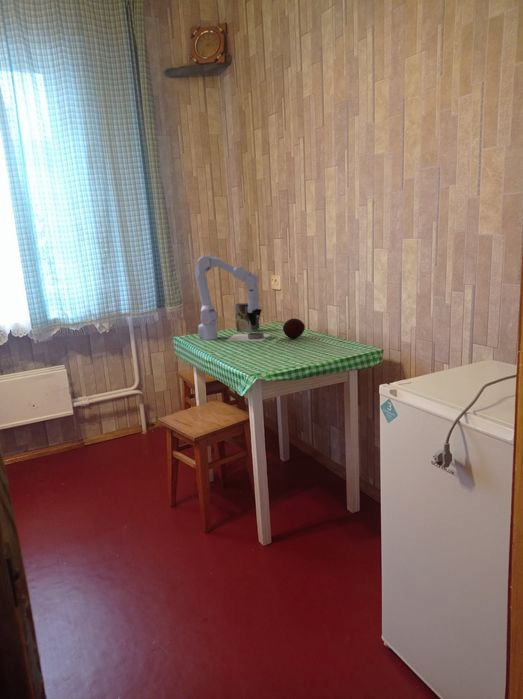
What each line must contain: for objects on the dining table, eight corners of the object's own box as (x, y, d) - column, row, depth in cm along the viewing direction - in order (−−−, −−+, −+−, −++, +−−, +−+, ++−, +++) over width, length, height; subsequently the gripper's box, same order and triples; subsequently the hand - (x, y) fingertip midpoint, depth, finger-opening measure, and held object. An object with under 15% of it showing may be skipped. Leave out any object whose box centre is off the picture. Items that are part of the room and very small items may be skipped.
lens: (249, 329, 262) (248, 316, 261) (252, 328, 267) (251, 314, 265) (258, 329, 261) (256, 315, 259) (260, 327, 265) (259, 314, 264)
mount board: (224, 342, 263) (224, 336, 262) (235, 336, 278) (234, 330, 277) (262, 342, 257) (262, 336, 256) (270, 336, 272) (270, 330, 271)
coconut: (307, 335, 267) (306, 315, 265) (302, 341, 255) (301, 320, 252) (286, 335, 270) (285, 316, 268) (280, 341, 257) (279, 320, 255)
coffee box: (255, 331, 288) (253, 302, 284) (252, 333, 282) (250, 304, 278) (240, 331, 290) (238, 303, 287) (236, 333, 284) (234, 304, 281)
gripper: (256, 299, 252) (258, 327, 255) (264, 295, 266) (266, 321, 269) (243, 300, 254) (245, 327, 257) (251, 296, 268) (253, 321, 271)
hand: (255, 324), depth 263 cm, fingers closed on lens, 4 cm apart
